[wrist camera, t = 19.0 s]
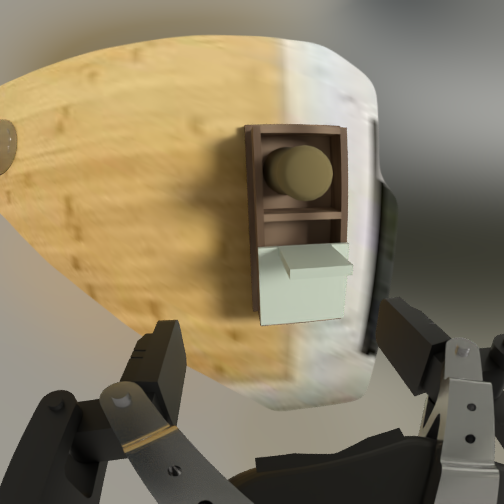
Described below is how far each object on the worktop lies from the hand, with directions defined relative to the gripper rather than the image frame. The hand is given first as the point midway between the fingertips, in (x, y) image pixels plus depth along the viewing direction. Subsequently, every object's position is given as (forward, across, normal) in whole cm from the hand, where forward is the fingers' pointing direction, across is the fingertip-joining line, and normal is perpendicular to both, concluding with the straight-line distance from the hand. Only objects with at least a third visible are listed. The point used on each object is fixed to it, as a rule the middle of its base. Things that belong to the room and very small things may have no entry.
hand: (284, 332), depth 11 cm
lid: (+22, -6, +8) cm, 24 cm away
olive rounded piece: (+26, -5, -5) cm, 28 cm away
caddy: (+27, -6, +1) cm, 28 cm away
